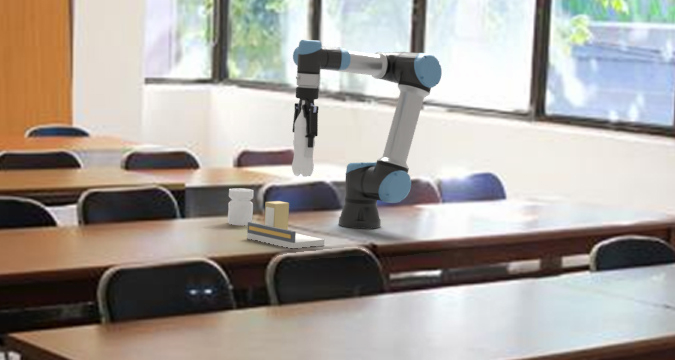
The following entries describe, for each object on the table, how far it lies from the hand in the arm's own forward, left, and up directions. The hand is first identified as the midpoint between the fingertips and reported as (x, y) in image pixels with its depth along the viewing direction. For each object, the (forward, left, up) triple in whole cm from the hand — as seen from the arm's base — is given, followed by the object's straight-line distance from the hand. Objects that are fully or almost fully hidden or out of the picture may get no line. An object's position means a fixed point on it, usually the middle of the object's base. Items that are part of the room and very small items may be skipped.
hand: (303, 155), depth 427 cm
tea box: (+8, -3, -25) cm, 27 cm away
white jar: (-2, -33, -28) cm, 43 cm away
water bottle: (0, 0, -7) cm, 7 cm away
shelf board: (+10, +4, -27) cm, 30 cm away
